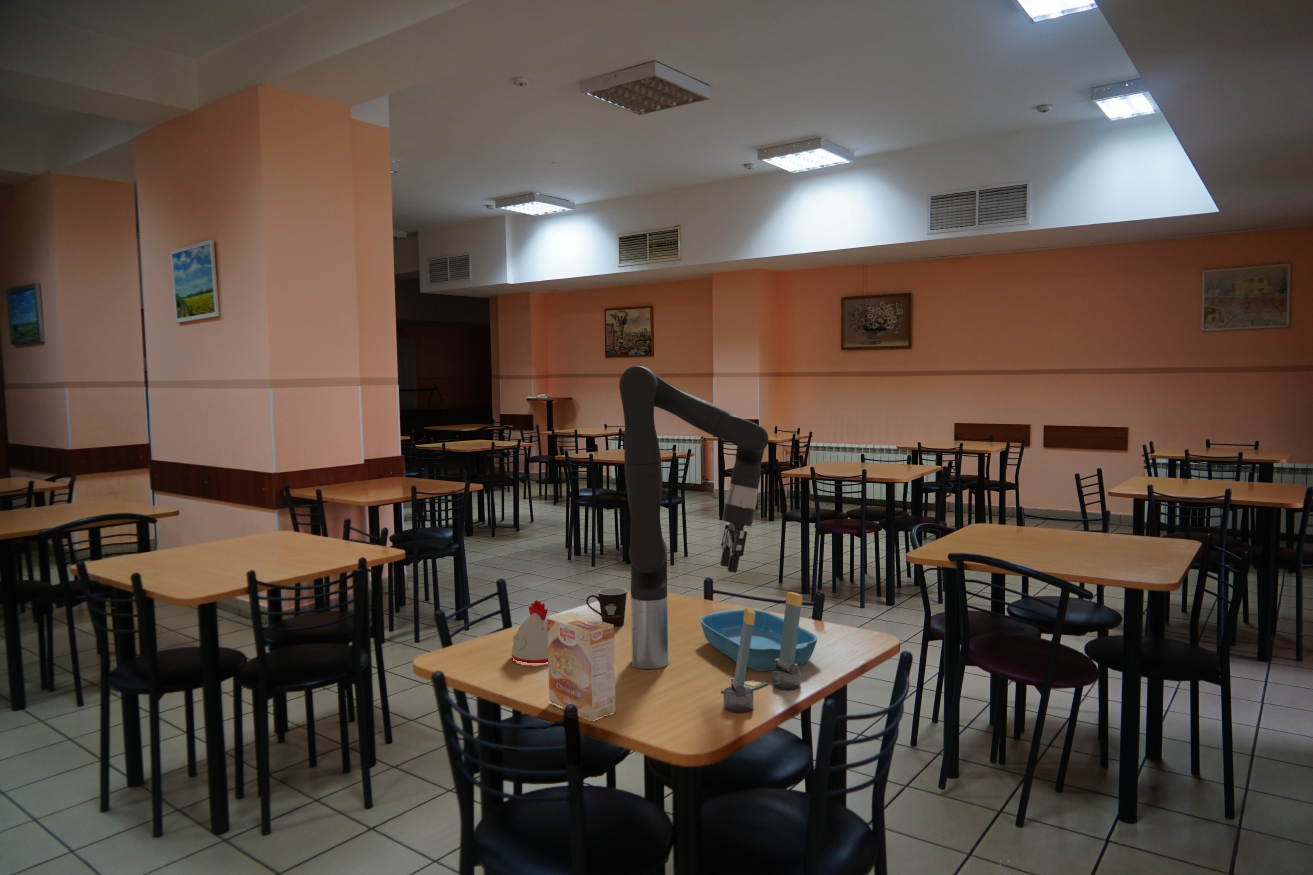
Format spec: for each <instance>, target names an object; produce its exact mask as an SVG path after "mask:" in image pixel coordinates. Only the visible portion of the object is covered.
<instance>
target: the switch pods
mask: <svg viewBox="0 0 1313 875" xmlns="http://www.w3.org/2000/svg"><path fill="white" fill-rule="evenodd" d="M778 660H779V659H775V668H773V670H771V671H772V672H771V674H772V687H773V688H775V689H778V690H781V691H796V690H798V689H799V688H801V670H800V668H799V665H798V664H794V665H790V671H788V670H786V669H783V668H781V667H779V666H778V665H777V662H778ZM733 679H734V677H731V678H730V680H731V681H730V686H729V687H726V688H723V689H724V693H723V709H724V710H725V711H726V712H729V713H732V714H746V713H749V712H751V711H753V710H754V690H752V689H750V688H748V687H745V686H736V690H735V688H734V687H733V685H732V680H733Z"/></svg>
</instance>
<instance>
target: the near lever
mask: <svg viewBox="0 0 1313 875" xmlns="http://www.w3.org/2000/svg"><path fill="white" fill-rule="evenodd" d="M744 610H745V612H744V618H743V626H742V633H741V639H740V645H739V651H738V657H737V661H736V664H735V670H734V676H733V678H734V679H733V680H732V685H733V687H734V688H735V690H736V686H744V682H745V679H746V673H747V662H748V656H749V649H750V643H751V637H752V631H753V625H754V620H755V614H756V613H755V612H754V611H753V610H754V609H753V608H751V607H750V608H749V607H744Z"/></svg>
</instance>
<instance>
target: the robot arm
mask: <svg viewBox="0 0 1313 875" xmlns="http://www.w3.org/2000/svg"><path fill="white" fill-rule="evenodd" d="M618 385H619V386H618V387H619V388H618V389H619V392H620V393H619V394H620V398H621V404H622V405H621V406H622V412H623V420H624V441H623V442H624V443H623V444H624V445H623V447H624V451H623V452H624V456H623V458H624V461H623V462H624V476H625V487H626V488H625V489H626V494H627V496H626V497H627V503H628V508H629V513H630V540H629V541H630V543H629V549H628V550H629V551H628V552H629V553H628V555H629V560H630V571H631V573H630V574H631V575H630V606H631V608H630V610H631V611H630V612H631V613H630V614H631V622H630V624H631V627H630V628H631V663H632V664H631V665H632V668H638V669H645V670H653V669H659V668H663V667H666V666H667V665H668V664H669V655H670V654H669V626H668V625H669V624H668V623H669V621H668V619H669V618H668V616H669V614H668V552H667V550H668V549H667V543H666V541H665V540H664V537H663V532H662V524H661V504H662V494H663V493H662V492H663V469H662V465H663V464H662V456H661V455H662V454H661V448H660V443H659V439H658V435H657V430H656V426H655V425H656V424H655V408H658V409H661V410H664V411H666V412H668V413H670V414H673V415H674V416H676V417H678V418H680V419H681V420H682V421H684V422H686V423H687V424H689V425H691V426H693V427H695V428H696V429H698V430H700V431H702V432H704V433H707V434H709V435H711V436H713V437H715V438H717V439H720V440H725V441H726V442H729V443H730V444H732V445H734V446H736V453H735V461H734V465H733V467H732V471H731V472H732V473H731V477H730V483H729V487H728V489H727V493H726V498H725V503H724V508H723V513H722V518H721V519H722V521H724V522H727V523H725V525H724V530H723V534H722V539H721V543H720V546H721V550H722V553H721V557H720V563H719V564H720V566H722V567H724V568H725V567H726V568H727V572H729V573H734V574H735V573H737V571H738V568H739V562H740V558H741V557H743V556H744V555H745V554H744V551H745V547H746V542H747V536H748V531H745V530H744V529H745V527H746V526H747V527H751V526H752V525H753V523H754V518H755V513H756V507H757V502H758V493H759V486H760V480H761V476H762V475H761V474H762V467H761V465H762V462H763V457H764V453H765V452H764V451H765V449H766V447H767V446H768V444H769V434H768V432H767V430H766V429H765V428H764V427H763V426H761V425H759V424H757V423H754V422H752V421H751V420H747V419H744V418H742V417H739V416H736V415H734V414H733V413H732V412H729V411H728V410H726V409H723V408H722V407H719V406H717V405H715V404H713V403H710V402H709V401H707V400H704V399H701V398H699V397H697V396H694V395H691V394H689V393H687V392H684V391H682V390H680V389H678V388H676V387H675V386H673V385H671V384H669V383H668V382H666V381H665V380H664V379H662V378H660V376H658V375H657V374H655V373H654V372H653V371H652V370H651V369H649V368H648V367H645V366H641V365H633V366H631V367H630V366H629V367H628V368H627V369H625V371H623V372H622V374H621V376H620V379H619V383H618Z"/></svg>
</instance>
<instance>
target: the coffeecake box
mask: <svg viewBox="0 0 1313 875" xmlns="http://www.w3.org/2000/svg"><path fill="white" fill-rule="evenodd" d="M547 627H548V664H549V665H548V689H549V690H548V694H549V695H548V697H549V699H548V701H551V702H552V703H555V704H557V705H560V706H562V707H563V709H564V707H565V706H567V705H569V704H574V705H576V706H577V707H578V709H579V713H580V717H579V718H581V719H584V720H586V721H588V720H590V721H593V720H595V719H597V718H600V717H603V716H605V715H609V714H611V713H615V712H616V709H617V708H616V675H615V674H616V672H615V671H616V670H615V668H616V667H615V634H614V633H615V632H614V630H615V629H614V628H615V627H614V625H613V624H609V623H605V622H602V620H598V619H595V618H592V617H588V616H584V615H582V614H578V613H574V612H571V611H570V612H567V613H563V614H558V615H553V616H549V618H547ZM615 714H616V713H615ZM590 721H589V722H590Z"/></svg>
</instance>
